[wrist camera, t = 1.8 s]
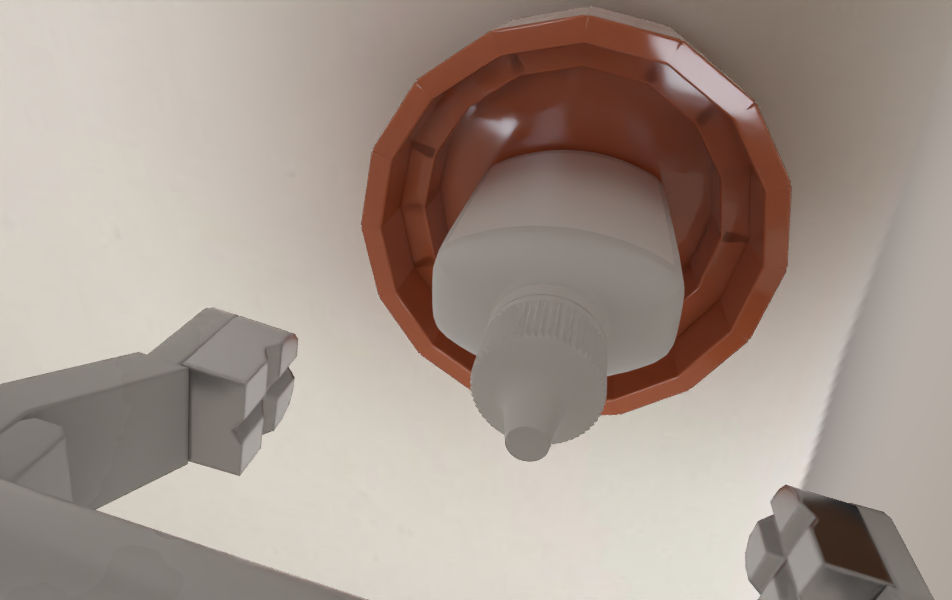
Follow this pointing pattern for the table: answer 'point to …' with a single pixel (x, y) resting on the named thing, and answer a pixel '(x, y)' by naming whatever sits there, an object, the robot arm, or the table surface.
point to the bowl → (600, 131)
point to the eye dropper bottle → (558, 289)
